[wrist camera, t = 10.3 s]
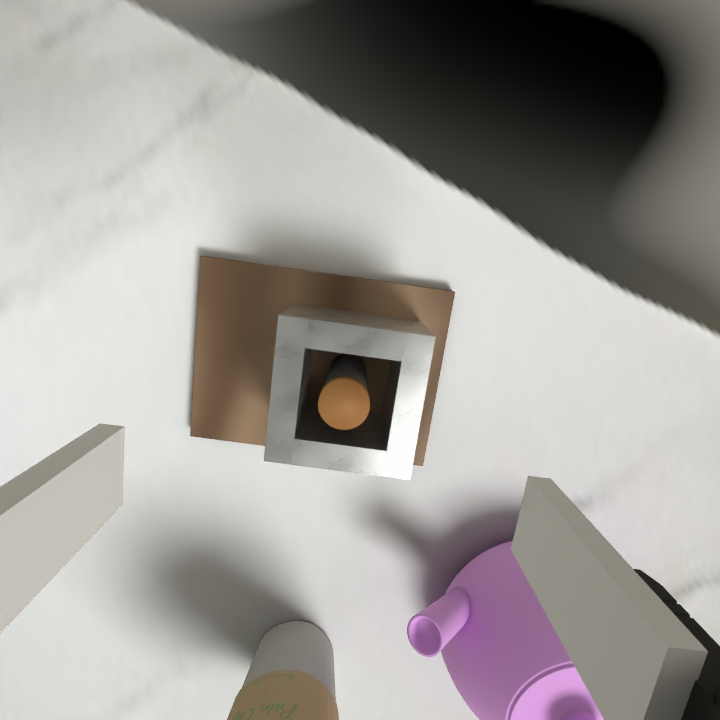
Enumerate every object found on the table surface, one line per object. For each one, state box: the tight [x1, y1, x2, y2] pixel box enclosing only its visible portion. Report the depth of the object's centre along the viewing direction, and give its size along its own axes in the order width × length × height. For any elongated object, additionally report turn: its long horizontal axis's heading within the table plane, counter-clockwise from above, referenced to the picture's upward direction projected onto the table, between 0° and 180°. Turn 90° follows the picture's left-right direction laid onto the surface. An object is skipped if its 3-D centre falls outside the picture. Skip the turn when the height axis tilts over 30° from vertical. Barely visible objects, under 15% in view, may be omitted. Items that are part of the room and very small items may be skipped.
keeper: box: [190, 256, 455, 466], centre depth 26 cm, size 16×12×8 cm
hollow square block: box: [264, 303, 436, 480], centre depth 26 cm, size 8×8×6 cm
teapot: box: [407, 541, 604, 720], centre depth 29 cm, size 14×20×11 cm
